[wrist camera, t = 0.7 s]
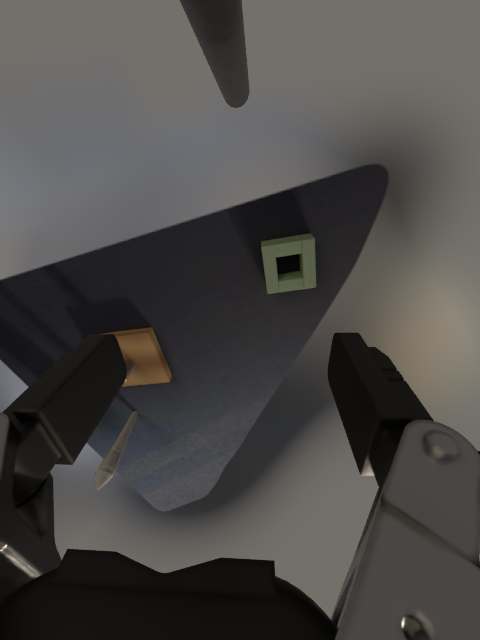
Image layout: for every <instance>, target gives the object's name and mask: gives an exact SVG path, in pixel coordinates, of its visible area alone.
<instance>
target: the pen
mask: <svg viewBox="0 0 480 640" xmlns="http://www.w3.org/2000/svg"><path fill="white" fill-rule="evenodd" d="M137 415H138V412H137V411H134V412H133V413H132V414H131V416H130V417H129V419H128V421H127V423H126V425H125V426H124V428H123V430H122V432H121V433H120V435H119V437H118V438H117V440H116V441H115V443H114V445H113V446H112V448H111V450H110V452H109V453H108V455H107V456H106V457H105V459H104V460H103V462H102V463H101V465H100V466H99V468H98V470H97V472H96V473H95V476H96V479H95V487H96V490H98V489H100V488H101V487H102V486H103V485H105V483H107V482H108V481H109V480H110V479H111V478H112V477H113V474H114V473H115V471H116V468H117V466H118V463H119V460H120V456H121V453H122V452H123V450H124V448H125V445H126V442H127V440H128V437H129V434H130V432H131V429H132V427H133V425H134V422H135V420H136V418H137Z"/></svg>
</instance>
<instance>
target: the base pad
mask: <svg viewBox="0 0 480 640" xmlns="http://www.w3.org/2000/svg"><path fill="white" fill-rule="evenodd" d="M103 334H113V335H115V336H116V338H117V340H118V343H119V346H120V349H121V352H122V355H123V358H124V361H125V363H126V367H127V376H126V380H125V382H124V384H123V385H122V387H123V386H133V385H144V384H154V383H165V382H170V380H171V377H172V375H171V372H170V370H169V367H168V365H167V362H166V360H165V358H164V355H163V353H162V350H161V348H160V346H159V343H158V341H157V338H156V336H155V333H154V331H153V329H152V327H150V328H142V329H134V330H126V331H118V332H110V333H103Z"/></svg>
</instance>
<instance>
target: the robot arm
mask: <svg viewBox="0 0 480 640" xmlns="http://www.w3.org/2000/svg"><path fill="white" fill-rule="evenodd" d="M126 376H127V367H126V363H125V361H124V358H123V355H122V352H121V349H120V346H119V343H118V340H117V338H116V336H115V335H113V334H90V335H89V336H87V337H86V338H85V339H84V340H83V341H82V342H81V343H80V344H79V345H78V346H77V347H76V348H75V349H73V350H71V351H70V352H68V353H66V354H65V355H63V356H61V357H60V358H59V359H58V360H57V361H56V362H55V363H54V364H53V365H52V366H51V369H48V370H47V371H46V372H45V373H44V374H42V377H41V378H38V379H37V380H36V381H35V382H34V383H33V384H32V385H31V386H30V387H29V388H28V389H27V390H26V391H24V392H23V393H22V394H21V395H20V396H19V397H18V398H17V399H16V400H15V401H14V402H13V403H12V404H11V405H10V406H9V407H8V408H7V409H6V410H4V411H3V412H2V413H0V640H480V561H479V554H480V451H477V450H476V449H475V447H474V446H473V445H472V444H471V443H470V442H469V441H468V440H467V439H466V438H465V437H463V436H462V435H461V434H460V433H458V432H457V431H455V430H453V429H452V428H450V427H447V426H446V425H443V424H441V423H438V422H434V420H433V419H432V418H431V416H430V415H429V414H428V412H427V411H426V409H425V408H424V406H423V405H422V403H421V402H420V401H419V399H418V398H417V396H416V395H415V394H414V392H413V391H412V390H411V388H410V387H409V385H408V384H407V383H406V381H404V380H403V379H404V378H403V377H402V375H401V374H400V373H399V371H397V370H396V367H395V366H394V364H393V363H392V361H391V360H390V359H389V357H388V356H386V355H385V354H384V353H382V352H381V351H380V350H378V349H377V348H375V347H368V346H367V345H366V343H365V342H364V340H363V339H362V337H361V335H360V334H359V333H335V334H334V336H333V340H332V347H331V352H330V358H329V364H328V380H329V385H330V388H331V390H332V393H333V396H334V399H335V402H336V405H337V408H338V411H339V414H340V417H341V420H342V422H343V426H344V428H345V431H346V434H347V437H348V440H349V443H350V446H351V449H352V452H353V454H354V458H355V460H356V463H357V467H358V469H359V472H360V475H365V476H375V478H376V481H377V483H378V486H379V489H378V492H377V494H376V497H375V499H374V502H373V505H372V508H371V511H370V513H369V516H368V519H367V522H366V525H365V527H364V530H363V533H362V536H361V539H360V541H359V544H358V547H357V550H356V553H355V555H354V558H353V561H352V563H351V566H350V568H349V571H348V573H347V576H346V579H345V581H344V584H343V586H342V589H341V592H340V595H339V598H338V600H337V603H336V606H335V608H334V611H333V614H332V617H331V620H330V618H329V617H328V616H327V615H326V613H325V612H324V611H323V610H322V609H321V608H320V607H319V606H318V605H317V604H316V603H315V602H314V601H313V600H312V599H311V598H309V597H308V596H307V595H306V594H305V593H303V592H302V591H301V590H300V589H298V588H297V587H295V586H293V585H292V584H290V583H289V582H287V581H285V580H283V579H280V578H278V577H276V576H275V567H274V561H269V560H252V559H234V558H218V559H215V560H212V561H208V562H205V563H201V564H198V565H195V566H191V567H187V568H184V569H180V570H177V571H173V572H170V573H160V572H157V571H155V570H153V569H151V568H149V567H147V566H145V565H143V564H140V563H138V562H136V561H134V560H132V559H130V558H128V557H126V556H124V555H121V554H120V553H118V552H112V551H95V550H77V549H67V551H66V553H65V555H64V557H63V559H62V561H61V558H60V555H59V553H58V551H57V548H56V545H55V538H54V501H53V477H52V475H51V473H50V471H51V469H52V468H53V467H54V465H55V464H65V465H72V464H73V463H74V461H75V460H76V458H77V457H78V455H79V454H80V452H81V450H82V449H83V447H84V446H85V444H86V442H87V441H88V439H89V438H90V436H91V434H92V433H93V431H94V430H95V428H96V426H97V425H98V423H99V422H100V420H101V419H102V417H103V415H104V414H105V412H106V411H107V409H108V407H109V406H110V404H111V403H112V401H113V399H114V398H115V396H116V395H117V393H118V392H119V390H120V388H121V387H122V385H123V384H124V382H125V380H126Z"/></svg>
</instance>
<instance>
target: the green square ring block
mask: <svg viewBox="0 0 480 640" xmlns="http://www.w3.org/2000/svg"><path fill="white" fill-rule="evenodd" d="M261 249H262V257H263V264H264V272H265V279H266V286H267V294H271V293H279V292H285V291H293V290H300V289H307V288H314V287H316V265H315V238H314V237H313V236H312V235H311V234H310V233H309V234H303V235H297V236H291V237H285V238H279V239H273V240H267V241H261ZM294 254H299V260H300V271H295V272H289V273H282V274H277V265H276V257H282V256H288V255H294Z"/></svg>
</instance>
